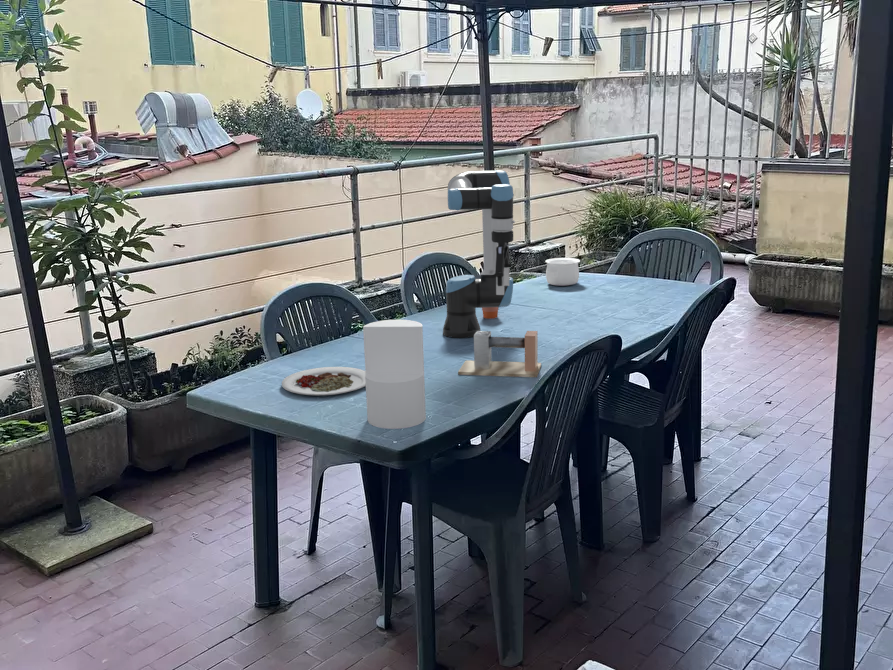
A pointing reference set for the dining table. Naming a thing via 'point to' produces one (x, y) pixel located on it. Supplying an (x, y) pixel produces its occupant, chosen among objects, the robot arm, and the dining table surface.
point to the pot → (562, 271)
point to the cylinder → (394, 373)
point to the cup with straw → (490, 312)
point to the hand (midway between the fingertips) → (502, 290)
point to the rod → (507, 342)
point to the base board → (499, 369)
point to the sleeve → (482, 350)
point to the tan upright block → (531, 350)
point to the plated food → (325, 381)
